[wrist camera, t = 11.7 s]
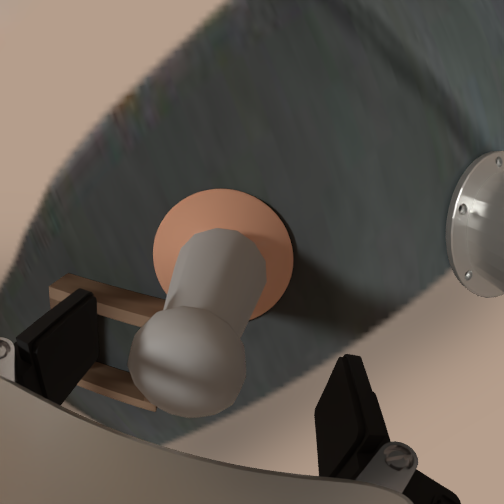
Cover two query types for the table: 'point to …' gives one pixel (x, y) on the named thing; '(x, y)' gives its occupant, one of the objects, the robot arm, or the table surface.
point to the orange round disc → (233, 218)
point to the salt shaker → (200, 327)
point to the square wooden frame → (119, 308)
